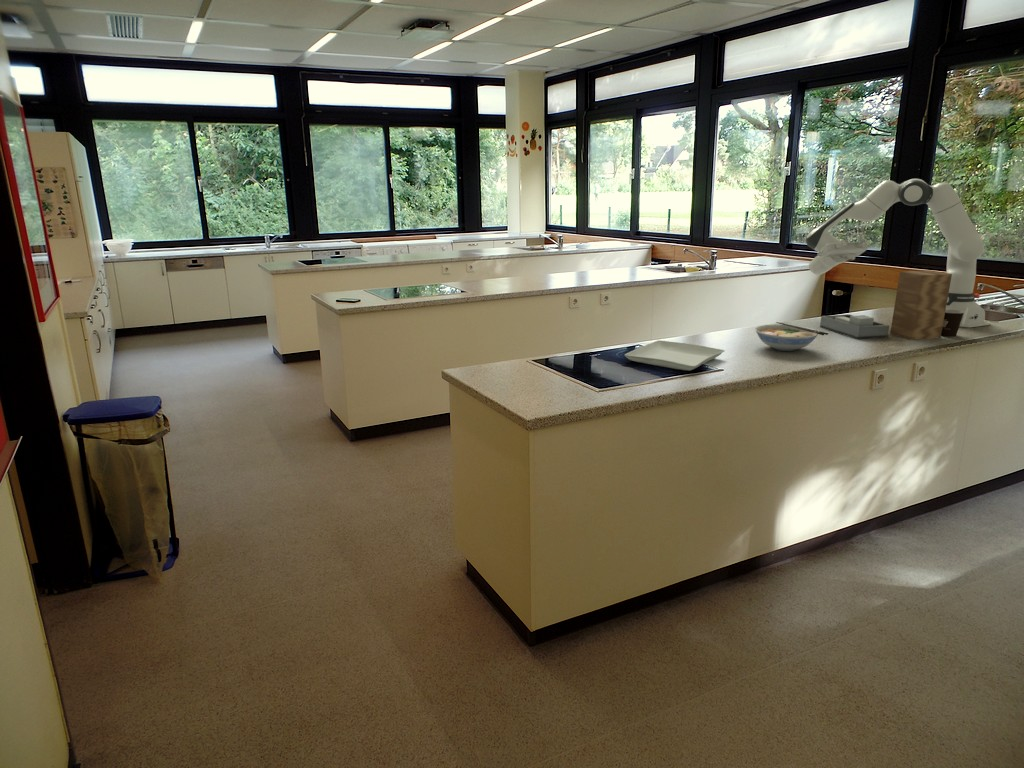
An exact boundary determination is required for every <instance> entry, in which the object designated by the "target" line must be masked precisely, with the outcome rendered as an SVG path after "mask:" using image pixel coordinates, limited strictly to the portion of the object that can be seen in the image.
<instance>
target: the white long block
mask: <svg viewBox="0 0 1024 768" xmlns="http://www.w3.org/2000/svg"><path fill="white" fill-rule="evenodd" d="M874 319H875V318H874V317H871V316H868V315H863V314H862V315H853V316H850V318H848V317H844V316H840V317H835V320H839V321H842V322H846V323H849V324H853V325H856V326H859V327H862V326H873V321H874Z"/></svg>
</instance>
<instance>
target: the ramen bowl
mask: <svg viewBox="0 0 1024 768" xmlns="http://www.w3.org/2000/svg"><path fill="white" fill-rule="evenodd" d="M775 323H776V324H763V325H758V326H756V327H754V330H755V333H756V334H757V336H758V337H759V339H760V340H761V342H762V343H764V344H765V345H767V346H769V347H771V348H773V349H774V350H777V351H781V352H792V351H795V350H798V349H802V348H805V347H807V346H808V345H810V344H811V343H812V342H813V341H814V340H815V339H816V338H817V337H818V335H821V336H825V335H826V336H828V335H829V333H828V332H824V331H820V330H816V329H813V328H811V327H806V326H803V325H795V324H794V325H792V324H787V323H785V322H784V323H783V322H777V321H776V322H775Z"/></svg>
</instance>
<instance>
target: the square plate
mask: <svg viewBox="0 0 1024 768" xmlns="http://www.w3.org/2000/svg"><path fill="white" fill-rule="evenodd" d="M724 352H725V350H724V349H720V348H715V347H708V346H703V345H698V344H692V343H686V342H685V343H684V342H679V341H678V342H676V341H669V340H668V341H667V340H661V339H660V340H659V339H658V340H655V341H653V342H651V343H648V344H646V345H642V346H640V347H637V348H635V349H634V350H630V351H628V352H627V353H624V357H626V358H627V359H628V360H629V361H633V362H636V363H641V364H645V365H646V364H647V365H651V366H657V367H662V368H663V367H664V368H669V369H674V370H681V371H689V372H690V371H692V370H695V369H697V368H698V367H700V366H702V365H703V364H705V363H706V364H707V363H709V362H710V361H712V360H714V359H716V358H718V357H719V356H721V355H722V354H723V353H724Z"/></svg>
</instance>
